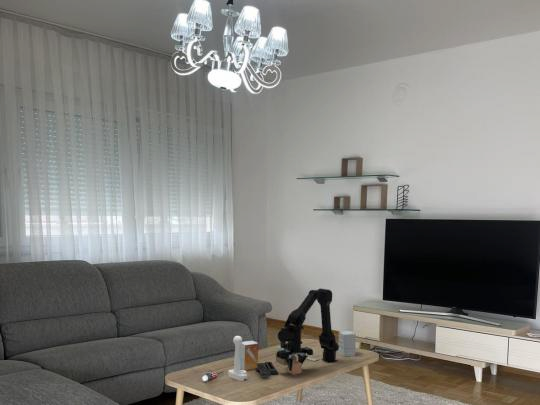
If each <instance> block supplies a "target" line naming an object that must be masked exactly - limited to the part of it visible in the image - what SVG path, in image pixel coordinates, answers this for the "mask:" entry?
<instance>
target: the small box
mask: <svg viewBox="0 0 540 405" xmlns="http://www.w3.org/2000/svg"><path fill="white" fill-rule="evenodd" d="M258 358H259V343H258V342H256V341H254V340H246V341H242V343H241V345H240V370H245V371H251V370H256V369H255V368H256V366H257V365H258V363H259V361H258V360H259V359H258ZM258 366H259V365H258Z"/></svg>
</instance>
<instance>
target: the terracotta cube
mask: <svg viewBox="0 0 540 405" xmlns="http://www.w3.org/2000/svg"><path fill="white" fill-rule="evenodd" d="M302 366H303V364H302V363H301V362H299V361H298V359H297V360H295V361H292V369H291V371H289V368H288V367H287V373H289V374H291V375H298V374H302V371H303V370H302Z"/></svg>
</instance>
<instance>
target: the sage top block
mask: <svg viewBox="0 0 540 405" xmlns="http://www.w3.org/2000/svg"><path fill="white" fill-rule="evenodd" d="M281 350H284V348H282V349H281V347H280V346H277V347H276V353H277V352H278V351H281ZM284 351H286V352H289V351H288V350H284ZM292 356H296V355H291V357H292Z"/></svg>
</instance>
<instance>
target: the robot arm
mask: <svg viewBox="0 0 540 405" xmlns="http://www.w3.org/2000/svg"><path fill="white" fill-rule="evenodd" d="M316 301H317V303H318V304H319V307H320V315H321V316H320V318H321V333H320V334H319V335H318V340H319V341H318V342H319V344H320V345H319V346H320V348H321V349H323V351H322V358H321V361H324V362H325V363H329V364H330V363H335V362H338V360H337V352H338V351H339V343H338V341H337V340H336V336H335V334H334V333H333V331H332V321H331V307H330V306H331V303H332V301H333V292H332V290H331V289H326V288H321V287H320V288H318V289H310V290H309V291H308V294H307V296H305V298H304V300H303V301H302V302H301V304H300V305H299V306H298V308H296V309H294V310H292V311H291V312H290V313H289V314H288V317H287V319H286V320H285V323H284V325H283V327H281V328H280V330H279V331H278V333H277V339H278V341H279V342H280V344H279V345H280V346H279V347H281V349H282V348H284V350H288V351H289V352H286V351H284V350H281V351H278V352H277V351H276V354H277V357H279V358H281V359H285V360H286V362H287V365H286V366H287V369H288V368H289V371H291V369H292V361H293V358H291V355H295V356H297V361H299V362H301V363H302V365H303V364H304V362H305V361H306V360H307V358H309V356H313V355H314V350H313V349H312V348H311V347H308V346H304V347H302V344H303V341H302V330H304V329H305V327H304V326H303V324H304V323H305V321H306V315H307V313H308V312H309V310H310V309H311V308H312V307H313V305H314V304H315V302H316Z"/></svg>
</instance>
